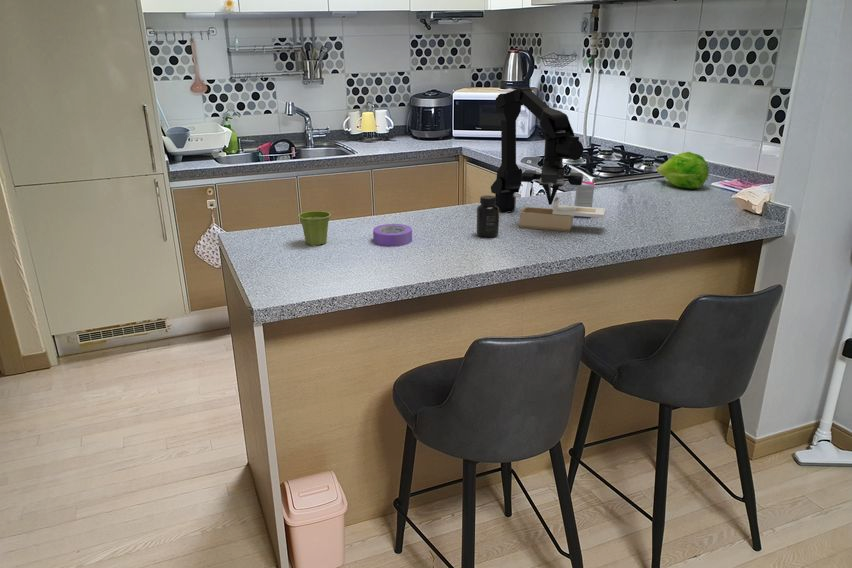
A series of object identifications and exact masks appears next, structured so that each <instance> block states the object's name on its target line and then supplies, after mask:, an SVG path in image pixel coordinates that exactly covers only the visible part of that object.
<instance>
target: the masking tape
mask: <svg viewBox="0 0 852 568" xmlns="http://www.w3.org/2000/svg"><path fill="white" fill-rule="evenodd" d="M372 236H373V243H374V244H376V245H378V246H382V247H383V246H384V247H401V246H406V245H409V244H411V243H412V242H413V228H412V227H411V226H409V225H407V224H402V223H385V224H381V225H377V226H375V227H373V229H372Z"/></svg>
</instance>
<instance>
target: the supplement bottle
mask: <svg viewBox="0 0 852 568" xmlns="http://www.w3.org/2000/svg"><path fill="white" fill-rule="evenodd" d="M479 199H480V200H479V201H480V202H479V205H477V208H476V235H477V236H478V237H481V238H486V239H487V238H488V239H489V238H495V237H498V235H499V231H500V229H499V228H500V211H499V207H498V206H497V205H495V204H496V197H495V195H482V196H480V198H479Z"/></svg>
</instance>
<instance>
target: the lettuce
mask: <svg viewBox="0 0 852 568" xmlns="http://www.w3.org/2000/svg"><path fill="white" fill-rule="evenodd" d="M709 171H710V170H709V166H708V163H707V161H706V160H705V158H704V156H702V155H700V154H697V153H693V152H691V151H685V152H681V153H678V154H675V155H673V156H672V157H670V158H669V159H667V160H666V161H665V162H663V163H662V164H660V165H659V166H658V167H657V168H656V172H657V173H658V174H660V175H661V176H662V177H664V178H665V179H666V180H667V181H668V182H669V183H670V184H672V185H673V186H675V187H678V188H682V189H687V190H688V189H690V190H694V189H699V188H701V187H703V185H704V184H705V182H706V180H707V179H708V177H709V174H710V173H709Z"/></svg>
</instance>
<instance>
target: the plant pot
mask: <svg viewBox="0 0 852 568" xmlns="http://www.w3.org/2000/svg"><path fill="white" fill-rule="evenodd" d="M331 215H332V214H331V213H330V212H328V211H322V210H310V211H303V212H301V213H299V214H298V215H297V216H298V218H299V221H300V223H301V226H302V232H303V236H304V239H305V244H308V245H309V246H320V245H325V244H327V241H328V228H329V221H330V217H331Z"/></svg>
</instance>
